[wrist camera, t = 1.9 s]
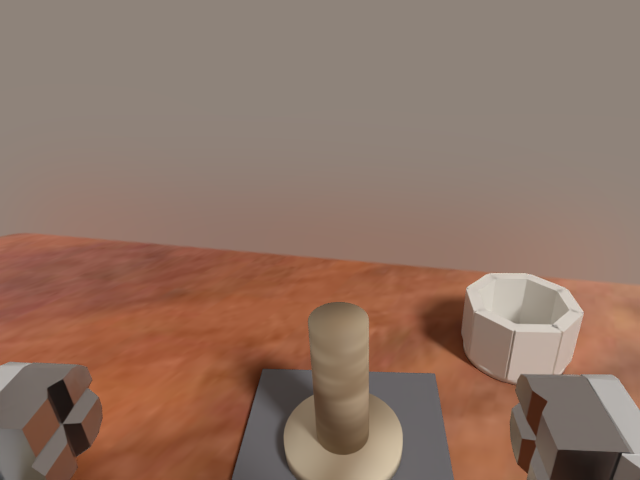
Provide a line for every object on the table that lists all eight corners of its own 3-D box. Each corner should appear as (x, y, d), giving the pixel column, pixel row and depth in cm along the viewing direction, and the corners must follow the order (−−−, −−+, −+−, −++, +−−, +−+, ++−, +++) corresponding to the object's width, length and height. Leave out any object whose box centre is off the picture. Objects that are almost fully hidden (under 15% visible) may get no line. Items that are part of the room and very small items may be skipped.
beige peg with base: (275, 496, 24) (256, 365, 20) (293, 397, 30) (281, 281, 26) (406, 503, 24) (413, 370, 20) (398, 401, 30) (403, 282, 26)
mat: (214, 549, 23) (213, 544, 22) (263, 373, 33) (262, 368, 33) (467, 566, 21) (468, 561, 21) (434, 377, 32) (434, 373, 32)
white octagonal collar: (473, 384, 31) (480, 331, 29) (455, 320, 37) (460, 273, 35) (582, 387, 30) (598, 333, 28) (546, 322, 37) (556, 273, 35)
